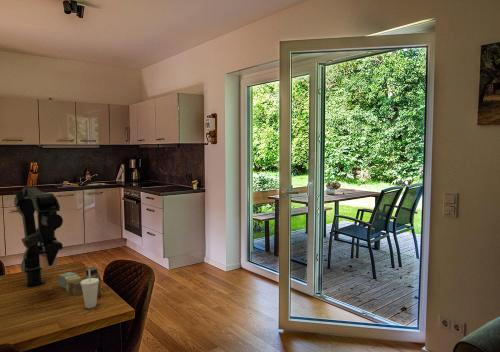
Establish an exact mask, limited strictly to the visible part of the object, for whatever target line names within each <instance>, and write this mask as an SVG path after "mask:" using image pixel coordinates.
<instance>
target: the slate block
mask: <svg viewBox="0 0 500 352" xmlns="http://www.w3.org/2000/svg"><path fill="white" fill-rule="evenodd" d="M74 275H78V273H76V272H71V271H68V272H65V273H62V274H59V275H58V284H59V287H60V288H64V289H65V277H69V276H74Z"/></svg>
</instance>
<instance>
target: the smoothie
mask: <svg viewBox="0 0 500 352" xmlns="http://www.w3.org/2000/svg"><path fill="white" fill-rule="evenodd" d="M88 271H89V279H85V280H84V279H83V280H82V281H81V282H80V283H81V284H80V285H81V286H82V291H83V294H82V295H83V301H84V306H85V307H84V308H86V309H94V308H96V307H97V302H98V301H97V299H98V297H97V291H98V283H99V279H97V278H90V270H88Z"/></svg>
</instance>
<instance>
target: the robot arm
mask: <svg viewBox="0 0 500 352" xmlns="http://www.w3.org/2000/svg"><path fill="white" fill-rule="evenodd" d="M13 202H14V206H15V208H16V212H17V213H18V214H19V215H20V216H21V218H22V226H23V233H24V237H22V238H21V242H22V244H23V246H24V248H26V250H25V251H24V253H23V256H22V257H23V259H22V261H21V263H20V271H21V272H22V273H23V274H26V276H25V277H26V281H25V282H24V284H25V286H26V287H27V288H31V287H35V286H40V285H43V284H45V281H44V280H43V278H42V275H43V274H42V270H43V269H42V268H41V267H40V259H39V254H45V253H46V257H47V261H48V265H49V266H52V264H53V262H54V260H55V257H56V255H58V254H59V251H60V250H63V249H64V247H63V246H64V245H63V243H62V242H60V241H58V238H57V237H56V234H55V233H56V231H57V229H59V228H61V226H62V225H63V224H64V223H63V222H64V219H63V217H62V216H61V215H60V214H58V212H61V211H60V210H61V209H60V208H61V205H60V203H59V201H58V198H57V197H56V196H55V194H54V193H51V192H50V193H49V192H46V193H45V192H43V191H42V190H40V189H38V187H37V186H35V185H34V186H25V187H23V188H22V189H21V191H19V192H18V193H16V195H15V197H14V201H13ZM35 212H36V215H37V216H36V217H37V218H36V219H37V225H36V220H35Z"/></svg>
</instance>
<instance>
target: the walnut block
mask: <svg viewBox="0 0 500 352" xmlns="http://www.w3.org/2000/svg"><path fill="white" fill-rule="evenodd" d="M82 280H84V278H81V277H80V279H76V280H73V281H70V282H68V287H69V292H68V295H71V296H73V297H77V296H81V295H83V291H82V286H81V285H80V284H81V283H80V282H81V281H82Z"/></svg>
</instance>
